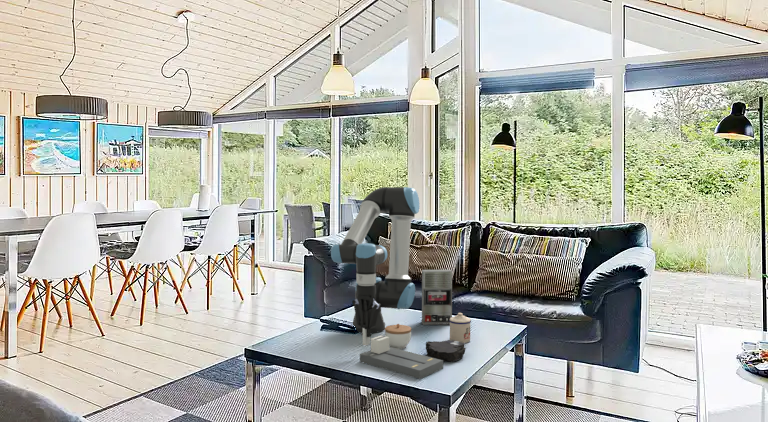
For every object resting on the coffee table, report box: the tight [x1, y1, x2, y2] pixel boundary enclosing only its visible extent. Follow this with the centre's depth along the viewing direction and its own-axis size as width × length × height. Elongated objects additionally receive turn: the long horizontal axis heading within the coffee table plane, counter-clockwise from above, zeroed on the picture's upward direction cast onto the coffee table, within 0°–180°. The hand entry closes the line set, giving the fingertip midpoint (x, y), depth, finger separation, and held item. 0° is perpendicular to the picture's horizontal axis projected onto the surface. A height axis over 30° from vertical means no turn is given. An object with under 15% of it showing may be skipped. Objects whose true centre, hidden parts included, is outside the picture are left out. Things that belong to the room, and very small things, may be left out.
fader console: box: [359, 346, 444, 380], centre depth 212 cm, size 28×14×3 cm, turn 50°
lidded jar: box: [384, 323, 412, 350], centre depth 234 cm, size 11×11×9 cm
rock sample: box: [425, 339, 467, 363], centre depth 223 cm, size 18×16×5 cm
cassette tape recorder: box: [421, 269, 453, 326], centre depth 270 cm, size 14×6×25 cm, turn 92°
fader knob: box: [370, 335, 390, 354], centre depth 218 cm, size 4×6×5 cm, turn 140°
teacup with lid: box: [449, 312, 472, 344], centre depth 244 cm, size 12×9×12 cm
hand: (366, 344), depth 223 cm, fingers closed
